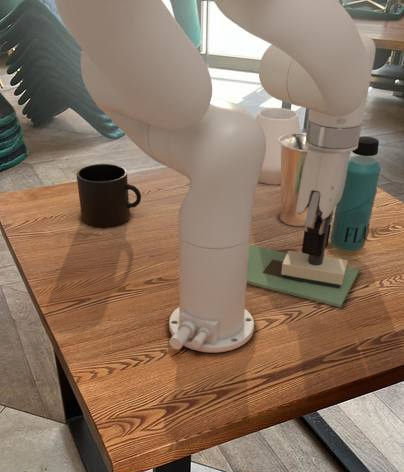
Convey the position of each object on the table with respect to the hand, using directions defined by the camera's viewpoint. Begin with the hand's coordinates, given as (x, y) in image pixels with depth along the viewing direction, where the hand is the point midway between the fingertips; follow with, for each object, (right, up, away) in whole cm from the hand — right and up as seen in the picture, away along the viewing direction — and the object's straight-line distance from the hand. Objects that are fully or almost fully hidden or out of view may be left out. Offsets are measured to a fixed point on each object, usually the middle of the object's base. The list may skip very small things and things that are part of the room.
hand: (314, 249), depth 93 cm
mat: (-3, -4, +5) cm, 7 cm away
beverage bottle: (+8, +2, +12) cm, 15 cm away
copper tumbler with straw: (+1, +10, +22) cm, 25 cm away
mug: (-36, +10, +21) cm, 43 cm away
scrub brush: (0, -4, +3) cm, 5 cm away
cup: (-2, +24, +39) cm, 46 cm away
